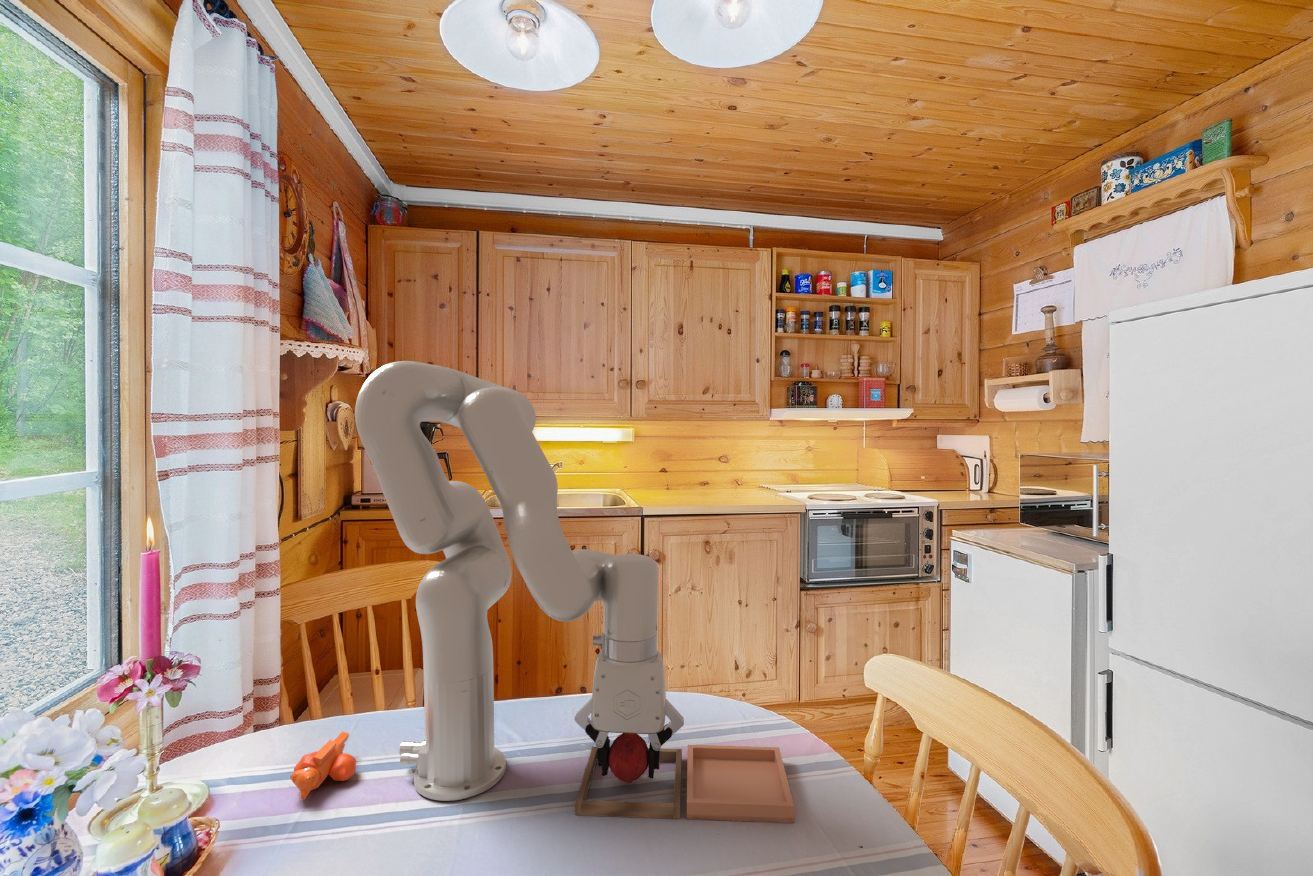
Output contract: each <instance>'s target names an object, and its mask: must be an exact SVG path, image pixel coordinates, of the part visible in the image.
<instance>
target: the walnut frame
mask: <svg viewBox="0 0 1313 876" xmlns="http://www.w3.org/2000/svg"><path fill="white" fill-rule="evenodd" d="M648 750H649V747H648ZM597 762H598V747H596V746H595V745H593V746H592V747H591V750H590V753H589V757H588V759H587V763H586V766H585V769H584V773H583V776H582V780H581V783H580V786H579V789H578V792H577V796H576V798H575V802H574V815H575V816H589V817H590V816H591V817H592V816H593V817H623V818H645V819H646V818H649V819H650V818H651V819H670V820H671V819H674V820H675V819H676V820H680V819H681V800H682V799H681V797H682V795H681V793H682V768H683V767H682V765H683V749H681V748H662V747H661V749H660V758H659V762H674V763H675V769H674V770H675V772H674V773H675V774H674V775H675V777H674V788H673V789H674V792H673V794H674V795H673V802H652V801H651V802H646V801H622V800H589V799H588V800H587V795H588V793H589V792H588V791H589V789H590V785H591V781H592V778H593V774H594V771H595V767H596V764H597Z"/></svg>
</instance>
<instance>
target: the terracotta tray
mask: <svg viewBox="0 0 1313 876" xmlns="http://www.w3.org/2000/svg"><path fill="white" fill-rule="evenodd" d="M686 764H687V766H686V768H687V774H686V820H703V821H704V820H705V821H731V822H755V823H757V822H758V823H759V822H760V823H761V822H762V823H783V824H784V823H786V824H787V823H788V824H794V823H795V804H794V800H793V796H792V793H791V789H790V784H789V781H788V778H787V773H786V769H785V766H784V761H783V757H782V753H781V749H780V747H779V746H750V745H749V746H747V745H746V746H745V745H743V746H742V745H714V744H713V745H712V744H711V745H708V744H688V745H687V763H686Z"/></svg>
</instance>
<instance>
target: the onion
mask: <svg viewBox="0 0 1313 876" xmlns="http://www.w3.org/2000/svg"><path fill="white" fill-rule="evenodd" d="M648 748H649V745H648V744H647V742H646V739H644V738H643V737H642V736H641V735H640V734H632V733H620V734H619V735H618V736H617V737H616V738H615V739H614V740H613V741H612V743H611V744H610V749H609V754H608V762H609V769H610V772H611V773H612V775H613V776H614V777H615V779H617V780H619V781H621V782H623V783H625V784H628V785H630V784H632V783H634V782H635V781H638V780H639V779H640V778H641V777H642V776H643V775H644V774H645V773H646V771H648V759H649V750H648Z"/></svg>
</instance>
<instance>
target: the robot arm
mask: <svg viewBox="0 0 1313 876" xmlns="http://www.w3.org/2000/svg"><path fill="white" fill-rule="evenodd" d="M354 418H355V420H354V421H355V425H356V430H357V433H358V436H359V439H360V441H361V444H362V445H363V448H364V450H365V452H366V454H367V457H368V459H369V460H370V463H371V466H372V467H373V470H374V472H375V475H376V477H377V479H378V482H379V485H380V489H381V491H382V493H383V496H384V499H385V501H386V504H387V506H388V509H389V511H390V513H391V516H392V518H393V519H392V520H393V521H394V524H395V526H396V529H397V532H398V534H399V536H400V538H401V540H402V541H403V543H404V545H405V546H406V547H407V548H408V549H409V550H411V551H412V552H413V553H416V554H420V555H431V554H435V553H438V552H441V551H442V552H443V555H444V556H445V557H444V558H445V559H443V560H441V561H440V562H438V563H437V564H435V565H434V566H432V567H431V568H430V569H429V570H428V571H427V572H426V573H425V575H424V576H423V577H422V579H421V581H420V582H419V585H418V587H417V588H416V589H417V590H416V595H415V610H416V614H417V620H418V624H419V629H420V635H421V644H422V661H423V662H422V664H423V665H422V666H423V667H422V669H423V696H424V697H423V699H424V700H423V701H424V702H423V705H424V709H423V711H424V740H423V741H422V742H419V741H417V742H416V741H409V740H408V741H402V742H401V743H400V746H399V756H400V758H399V763H400V765H411V764H412V765H415V766H416V767H417V768H416V769H415V772H414V775H413V785H414V789H415V790H416V791H417V793H419V795H422V796H423V797H424V798H427V799H430V800H434V801H439V802H441V801H442V802H446V801H447V802H450V801H458V800H463V799H464V800H465V799H468V798H472V797H474V796H477V795H480V794H482V793H485V792H486V791H488V790H489V789H491V788H492V787H493V786H494V785H496V784H497V783H498V782H499V781H500V780H501V779H502V778H503V776H504V775H505V773H506V768H507V767H506V766H507V763H506V762H507V760H506V759H507V758H506V756H505V755H504V753H503V752H502V751H501V750H500V749H499V748H497V747H495V697H494V696H495V695H494V693H495V692H494V689H495V688H494V685H495V684H494V650H493V649H494V647H493V640H492V633H491V629H490V626H489V622H488V610H489V609H490V608H491V607H492V606H493V605H494V604H495V603H497V602H498V601H499V600H500V599H501V598H502V597H504V595H505V594H506V592H507V591H508V589H509V587H510V585H511V582H512V577H513V574H512V573H513V572H512V565H511V561H510V557H509V554H508V552H507V549H506V547H505V545H504V542H503V540H502V537H501V534H500V532H499V529H498V528H497V524H496V522H495V519H494V518H493V515H492V512H491V510H490V508H489V505H488V503H487V501H486V500H485V498H484V497H483V496H482V494H481V493H480V492H479V491H478V489H476V488H475V487H474V486H472V485H470V484H469V483H466V482H464V481H459V480H450V481H449V480H448V477H447V476H446V474H445V472H444V469H443V467H442V465H441V462H440V459H439V456H438V454H437V451H436V449H435V448H434V447H433V445H432V443H431V442H430V440H428V437H426V436H425V434H424V433H423V431H422V429H421V423H422V422H439V423H440V422H441V423H445V424H447V425H450V426H453V427H456V428H459V429H460V430H461V432H462V435H463V436H464V438H465V440H466V442H467V444H468V445H469V447H470V449H471V451H472V452H473V454H474V456H475V460H477V462H478V464H479V465H480V467H481V470H482V471H483V472H484V474H485V477H486V478H487V480H488V482H489V485H490V486H491V488H492V490H493V492H494V494H495V496H496V497H497V500H498V502H499V504H500V506H501V510H502V517H503V522H504V523H503V524H504V527H505V531H506V536H507V540H508V545H509V548H510V552H511V556H512V558H513V561H514V563H515V566H516V567H517V570H518V572H519V574H520V576H521V577H522V579H523V581H524V584H525V585H526V586H527V589H528V591H529V593H530V595H531V596H532V598H533V600H534V601H535V602H536V604H537V606H539V608H540V609H541V610H542V611H543V612H544V614H546V615H547V616H548V617H549V618H552V619H554V620H556V621H559V622H573V621H575V620H578V619H580V618H582V617H583V616H585V615H586V614H587V613H588V612H589V611H590V609H591V608H592V606H593V605H594V604H595V603H596V602H598V601H599V602H602V605H603V609H602V610H603V616H602V617H603V619H602V620H603V625H602V628H603V629H602V631H603V632H601V634H598V635H594V634H593V636H592V646H597V647H600V649H601V651H600V652H599V653H598V655H597V657H596V661H595V665H594V666H595V667H594V672H593V679H592V680H593V682H592V691H591V692H592V693H591V698H590V699H589V700H588V701H587V702H586V703H585V704H584V705H583V706H582V707H581V708H580V709H579V710H578V711H576V713H575V716H574V717H573V718H574V722H575V723H576V724H577V725H578V726H579V727H580V728H581V729H583V730H584V731H585V733H586V735H587V736H588V737H589V738H590V739H591V740H592V741H593V742H594V743H595V744H594V746H595V747H598V759H597V767H601V777H606V776H608V773H609V769H610V768H609V762H608V754H609V749H610V747H611V739H610V737H609V736H608V735H609V733H611V734H612V733H614V734H615V733H616V734H623V733H632V734H638V735H647V736H648V739H649V745H648V748H649V759H648V768H647V772H648V775H647V776H648V777H647V778H649V779H651V780H653V779H654V777H655V770H660V761H659V758H660V749H661V748H662V746H663V745H664V744H666V743H667V742H668V741H669V739H671V738H672V736H673V735H674V734H676V733H677V732H678V731H680V730H681V729H682V727H683V726H684V724H685V718H684V716H683V715H682V714H681V713H680V712H679V711H678V710H677V709H676V708H675V707H674V706H673V705H672V703H671V702H670V701H669V700H668V699H667V696H666V693H667V692H666V679H665V678H666V677H665V676H666V675H665V668H664V662H663V661H664V660H663V658H662V657H663V656H662V653H661V652H660V651H659V650H658V606H659V605H658V603H659V602H658V601H659V600H658V598H659V591H658V590H659V586H658V585H659V570H658V569H659V568H658V564H657V561H655V560H654V558H653V557H650V556H647V555H644V554H640V553H639V554H638V553H623V554H612V553H609V552H608V553H607V552H603V551H602V552H601V551H597V550H592V549H584V548H579V549H574V550H572V548H571V547H570V544H569V543H568V541H567V538H566V535H565V534H564V531H563V528H562V525H561V522H560V518H559V513H558V491H559V490H558V489H559V488H558V487H559V486H558V479H557V476H556V473H555V472H554V470H553V468H552V466H551V464H550V463H549V460H548V458H547V457H546V455H545V453H544V451H543V449H542V448H541V445H540V443H539V442H538V441H537V438H536V436H535V434H534V433H533V431H534V429H535V427H536V426H535V425H536V422H537V421H536V420H537V417H536V412H535V408H534V406H533V404H532V402H531V401H530V399H529V398H527V396H525V395H524V394H523V393H521V392H520V391H517V390H515V389H512V388H510V387H509V388H508V387H505V386H502V385H500V384H497V383H493V382H490V381H488V380H485V379H482V378H479V377H476V376H474V375H471V374H468V373H465V372H463V371H460V370H457V369H455V368H450V367H446V366H442V365H436V364H430V363H426V362H420V361H414V360H413V361H412V360H401V361H400V360H399V361H393V362H389V363H386V364H384V365H381V367H379V368H377V369H376V370H374V371H373V372H372V373H371V374H370V375H369V376H368V377H367V379H366V380H365V381H364V383H363V384H362V386H361V388H360V389H359V392H358V395H357V397H356V402H355V408H354ZM589 716H590V717H589ZM666 717H667V718H668V719H669V720H670V721H669V723H666Z"/></svg>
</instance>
